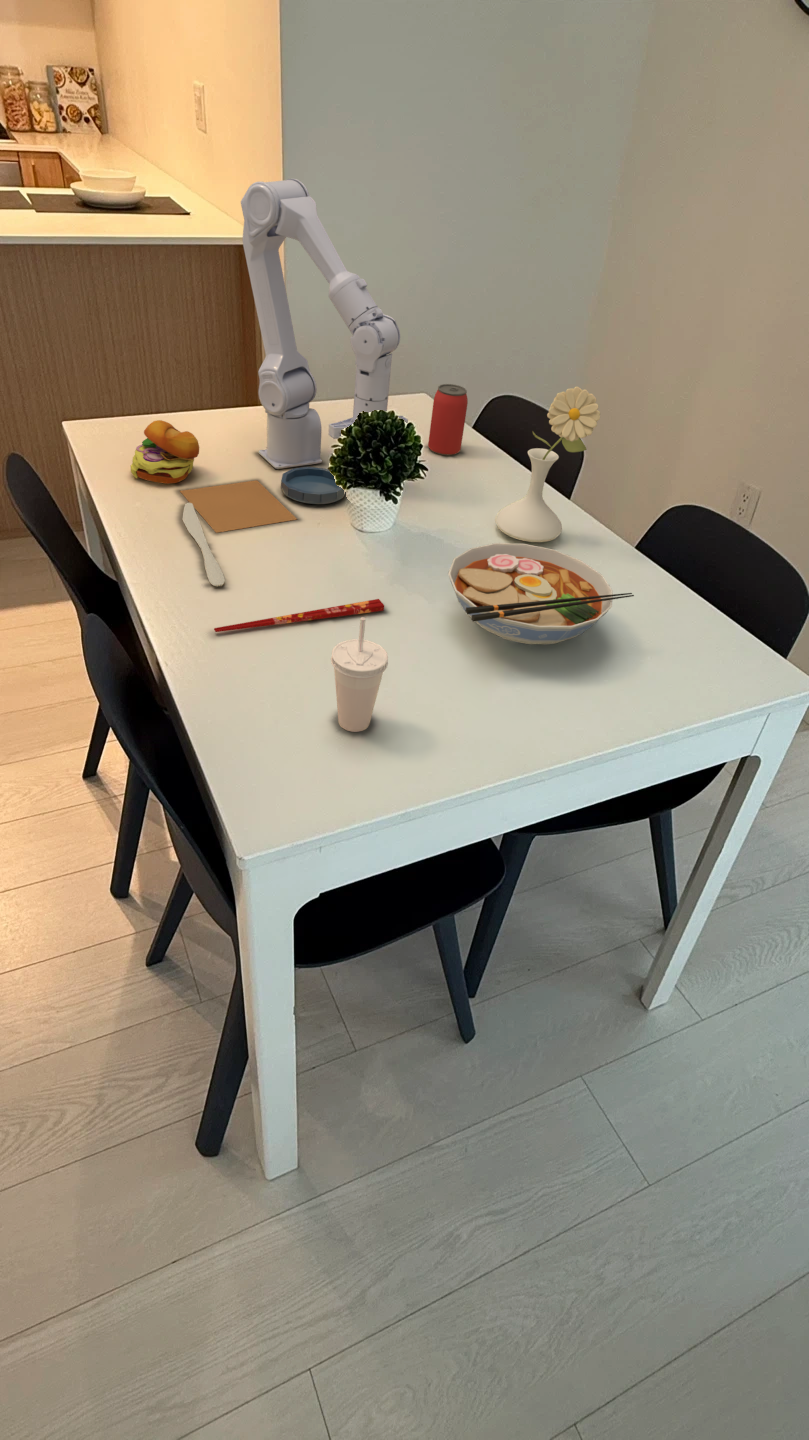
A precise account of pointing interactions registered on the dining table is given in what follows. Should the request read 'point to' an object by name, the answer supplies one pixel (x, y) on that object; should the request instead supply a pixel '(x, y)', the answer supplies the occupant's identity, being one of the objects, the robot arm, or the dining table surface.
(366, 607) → the chopstick
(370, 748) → the dining table surface
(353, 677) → the smoothie
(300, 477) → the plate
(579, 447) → the flower in vase
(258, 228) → the robot arm
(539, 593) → the ramen bowl
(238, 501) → the placemat
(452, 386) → the beer can
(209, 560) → the butter knife
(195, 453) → the cheeseburger
